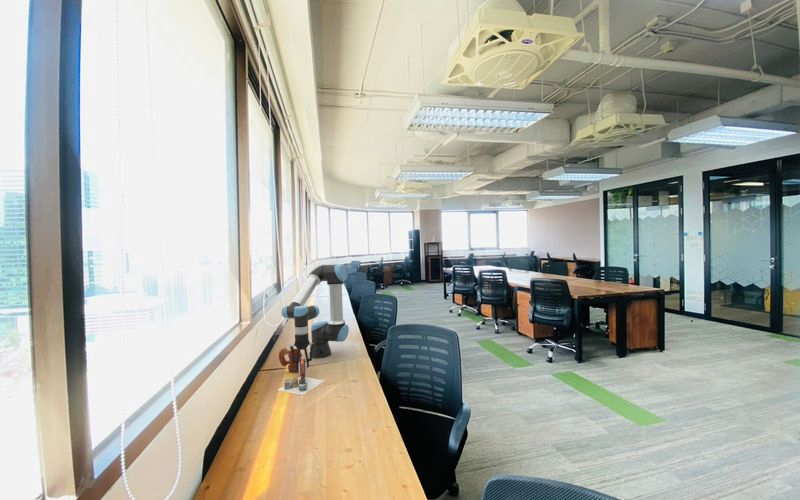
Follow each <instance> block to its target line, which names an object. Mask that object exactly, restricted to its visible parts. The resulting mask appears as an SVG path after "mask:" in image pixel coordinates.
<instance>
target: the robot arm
mask: <svg viewBox="0 0 800 500" xmlns="http://www.w3.org/2000/svg"><path fill="white" fill-rule="evenodd" d="M306 277H307V278H306V281H305V282H304V284H303V285H302V286H301V287H300V289H299V291H298V293H297V294H296V295H295V297H293V299H292V301H291V302H290V304H289V305H284V306H283V307H282V309H281V316H282V317H283V318H284V319H289V320H290V319H294V343H293V344H290V345H289V349H290V350H292V358H293V363H296V367H297V369H299V372H298V376H300V362H299V355H300V351H301V350H304V356H305V370H306V375H308V371H307V370H308V368H309V367H310V364H309V363H310V362H311V361H312V360H313V359H322V358H326V357H329V356H331V355H332V350H331V346H330V344H329V342H336V343H339V342H341V343H342V342H345V341H346V340H347V337H348V336H349V332H350V329H349V328H350V327H349V325H348V324H346V320H344V311H343V307H344V306H343V285H344V283H345V281H347V277H348V272H347V269H346V267H345V266H344V265H343V264H337V263H336V264H321V265H318V266H317V267H315V268H314V269H313V270H311V271H310V272H309V274H308V275H307V276H306ZM321 282H326V285H327V286H328V287H329V289H328V290H329V310H330V313H329V314H330V315H329V316H330V320H329V321H327V320H324V321H319V322H314V323H313V324H311V329H310V332H311V333H310V334H311V342H310V339H309V321H310V320H313V319H316V318H317V317H318V316H319V314H320V308H319V307H318V305H314V304H313V305H309V306H307V305H305V304H306V303H307V301H308V300H309V298H310V297H311V295H312V294H313V292H314V290H315V289H316V287H317V286H318V285H320V284H321ZM308 346H309V349H310V350H309V354H308V350H307V349H308ZM295 348H297V349H298V353H297V360H295V354H294V349H295ZM308 355H309V356H308Z"/></svg>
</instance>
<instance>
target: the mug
mask: <svg viewBox="0 0 800 500" xmlns="http://www.w3.org/2000/svg"><path fill="white" fill-rule="evenodd" d="M297 353H298V349H297V348H296V347H294V354H295V360H297ZM286 355H287V356H288V359H289V360H286V358H285V356H286ZM302 357H303V354H302V352H301V350H300V355H299V362H300V360H301V359H302ZM278 359H279V363H280V364H281V366H282V367H286V366H287V369H288V373H291V374H294V373H299V369H297V367H296V363H293V358H292V350H291V349H290V350H289V349H287V347H284V348H282V349H280V351H279V353H278Z"/></svg>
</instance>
